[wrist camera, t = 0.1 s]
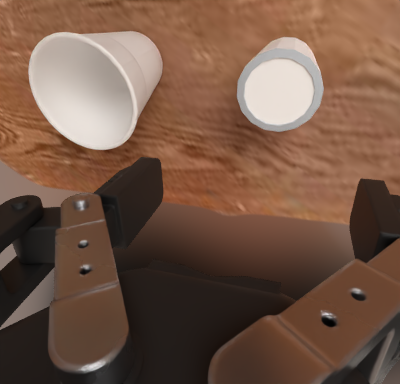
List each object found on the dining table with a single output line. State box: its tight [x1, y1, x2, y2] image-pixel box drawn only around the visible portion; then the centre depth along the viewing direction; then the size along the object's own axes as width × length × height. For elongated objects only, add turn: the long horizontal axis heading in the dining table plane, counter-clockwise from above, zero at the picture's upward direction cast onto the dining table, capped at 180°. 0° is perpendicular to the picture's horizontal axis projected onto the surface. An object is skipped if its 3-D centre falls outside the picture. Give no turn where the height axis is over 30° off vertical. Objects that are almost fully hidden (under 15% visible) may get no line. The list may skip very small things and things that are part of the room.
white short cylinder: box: [237, 37, 324, 132], centre depth 28 cm, size 7×7×7 cm
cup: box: [28, 31, 163, 150], centre depth 31 cm, size 10×10×11 cm
